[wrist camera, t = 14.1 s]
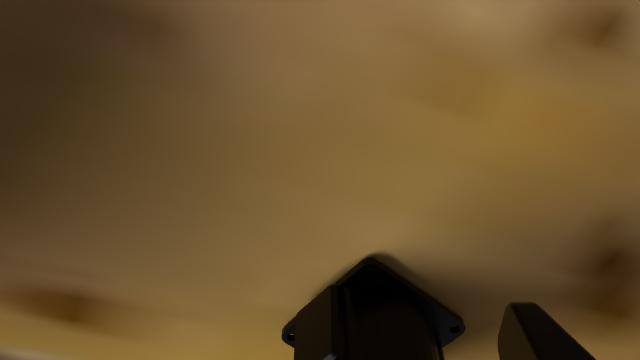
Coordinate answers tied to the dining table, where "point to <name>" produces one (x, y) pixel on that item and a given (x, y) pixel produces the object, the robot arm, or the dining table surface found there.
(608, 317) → the dining table surface
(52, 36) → the dining table surface
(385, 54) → the dining table surface
